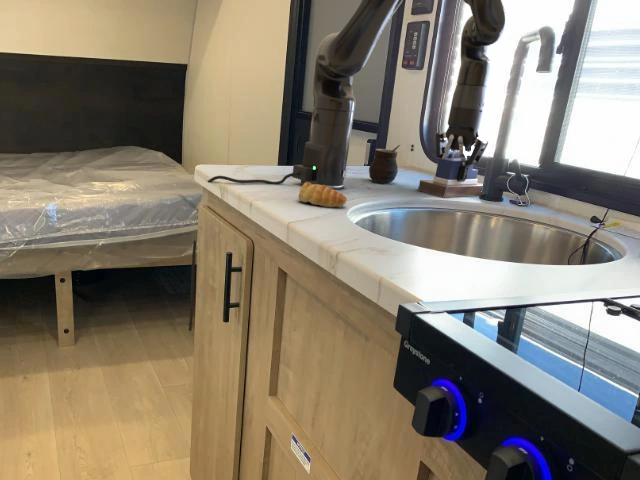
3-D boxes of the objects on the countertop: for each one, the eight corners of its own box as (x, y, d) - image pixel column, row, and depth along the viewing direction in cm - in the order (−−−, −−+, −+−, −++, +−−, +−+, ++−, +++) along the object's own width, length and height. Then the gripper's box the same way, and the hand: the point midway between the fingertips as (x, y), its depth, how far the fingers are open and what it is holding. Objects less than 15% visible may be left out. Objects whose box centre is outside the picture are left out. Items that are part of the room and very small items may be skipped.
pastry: (349, 205, 122) (352, 186, 121) (339, 211, 117) (342, 191, 115) (306, 197, 126) (308, 179, 125) (294, 202, 120) (297, 183, 119)
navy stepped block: (447, 185, 142) (452, 161, 140) (432, 181, 146) (437, 158, 144) (476, 184, 148) (482, 161, 146) (462, 180, 151) (467, 158, 149)
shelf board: (443, 197, 140) (445, 186, 139) (417, 190, 147) (419, 180, 146) (486, 195, 149) (489, 185, 148) (460, 188, 155) (462, 178, 154)
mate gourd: (376, 178, 159) (383, 139, 155) (401, 183, 154) (409, 144, 150) (361, 180, 154) (367, 140, 150) (386, 186, 149) (394, 144, 145)
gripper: (433, 102, 143) (419, 174, 149) (483, 108, 132) (466, 185, 138) (454, 103, 147) (439, 173, 153) (504, 109, 136) (487, 184, 142)
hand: (452, 179), depth 146 cm, fingers closed on navy stepped block, 4 cm apart
